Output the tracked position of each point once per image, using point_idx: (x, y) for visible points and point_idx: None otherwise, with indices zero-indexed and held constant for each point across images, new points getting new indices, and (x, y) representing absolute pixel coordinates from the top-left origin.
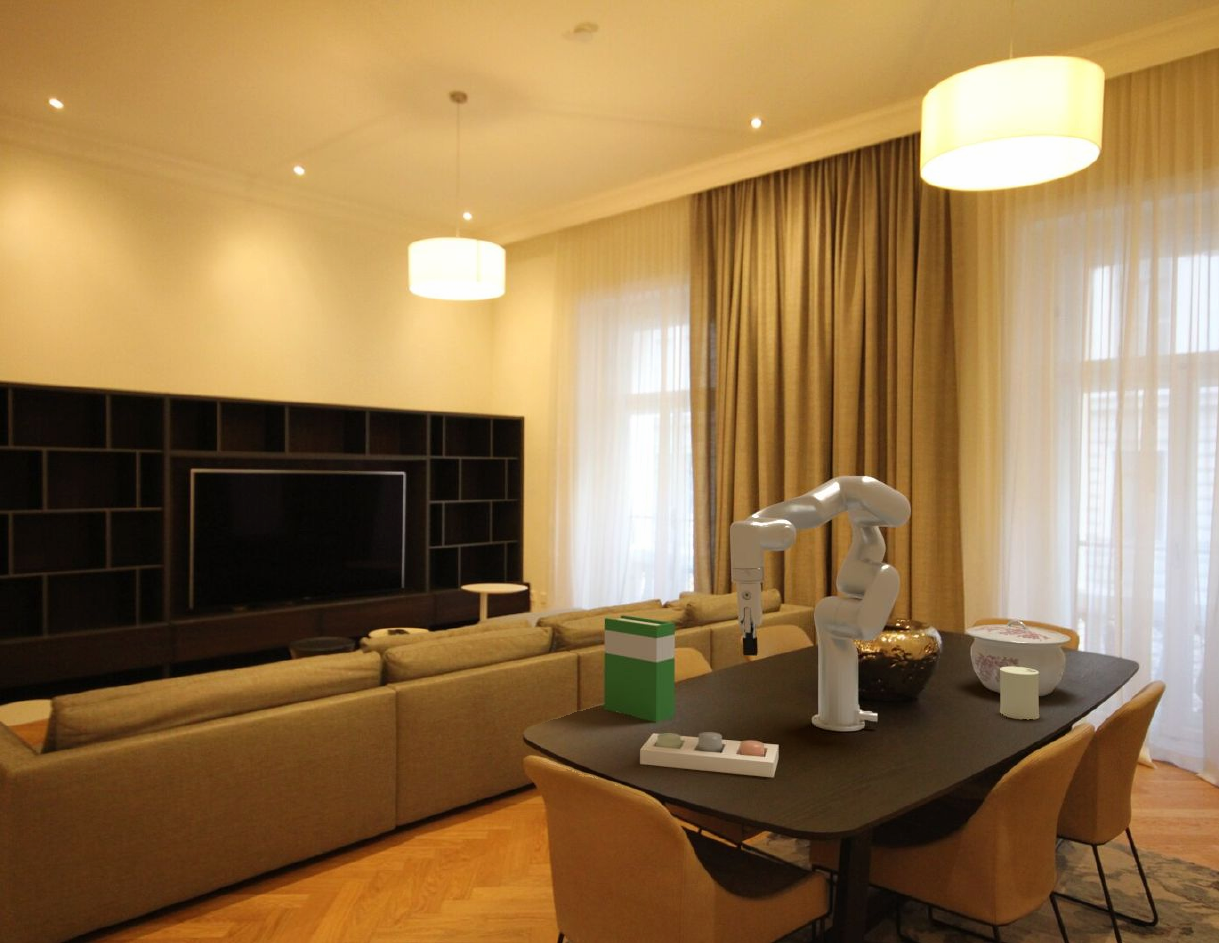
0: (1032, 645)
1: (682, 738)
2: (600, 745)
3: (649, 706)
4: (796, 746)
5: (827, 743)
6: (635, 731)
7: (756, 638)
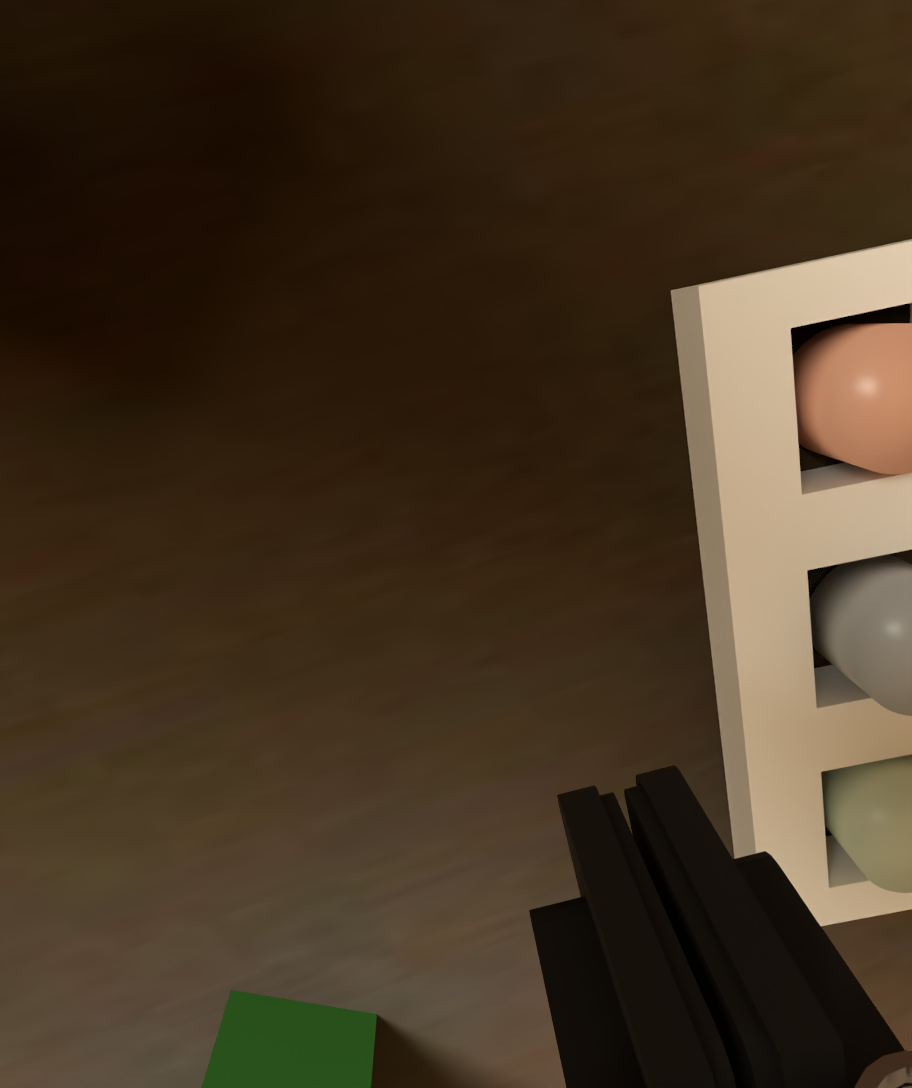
0: None
1: (793, 795)
2: None
3: None
4: (399, 256)
5: (234, 78)
6: None
7: (838, 1039)
